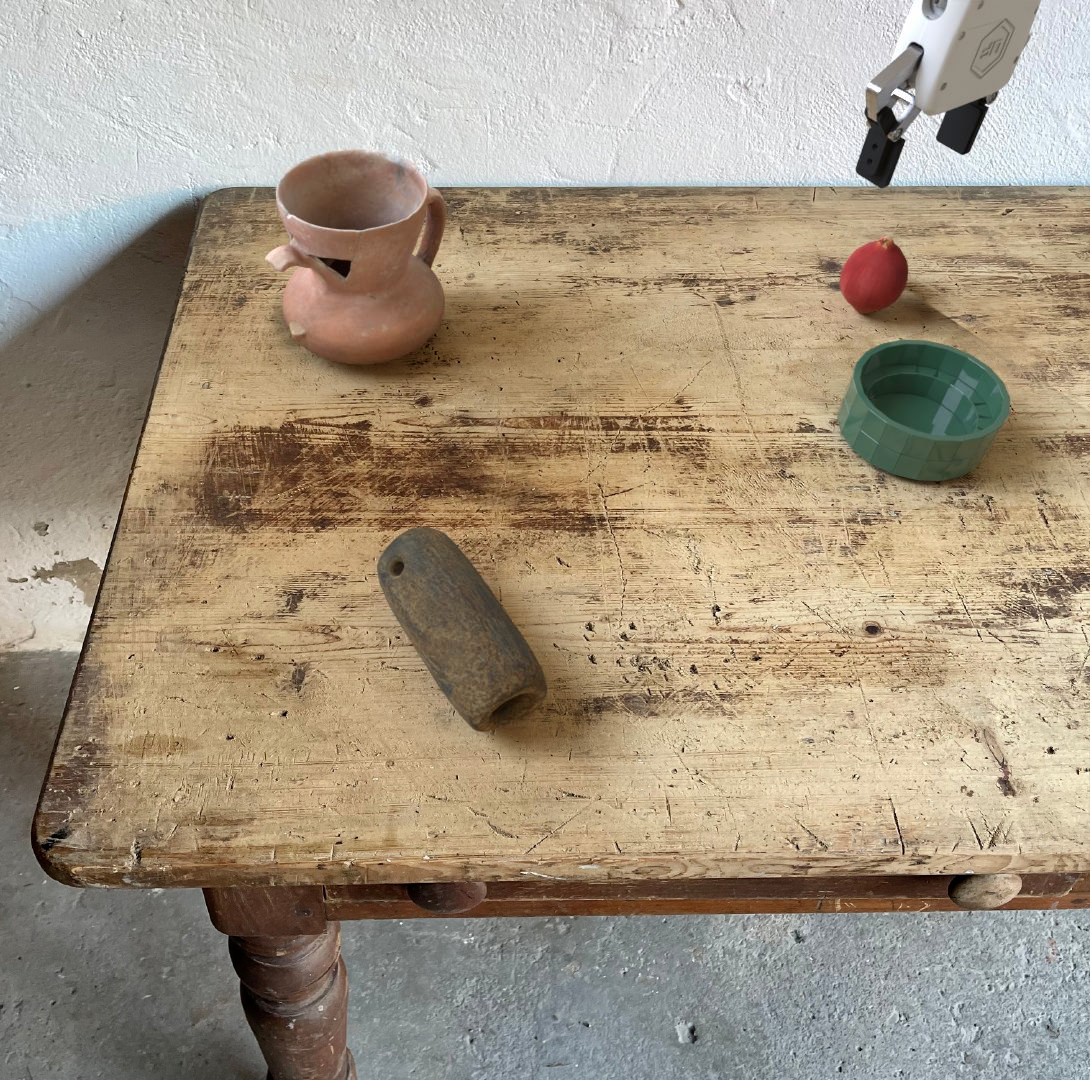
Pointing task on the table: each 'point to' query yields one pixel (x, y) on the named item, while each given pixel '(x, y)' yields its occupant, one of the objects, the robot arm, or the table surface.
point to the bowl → (922, 409)
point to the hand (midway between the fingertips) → (912, 163)
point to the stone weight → (460, 630)
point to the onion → (874, 276)
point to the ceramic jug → (360, 255)
